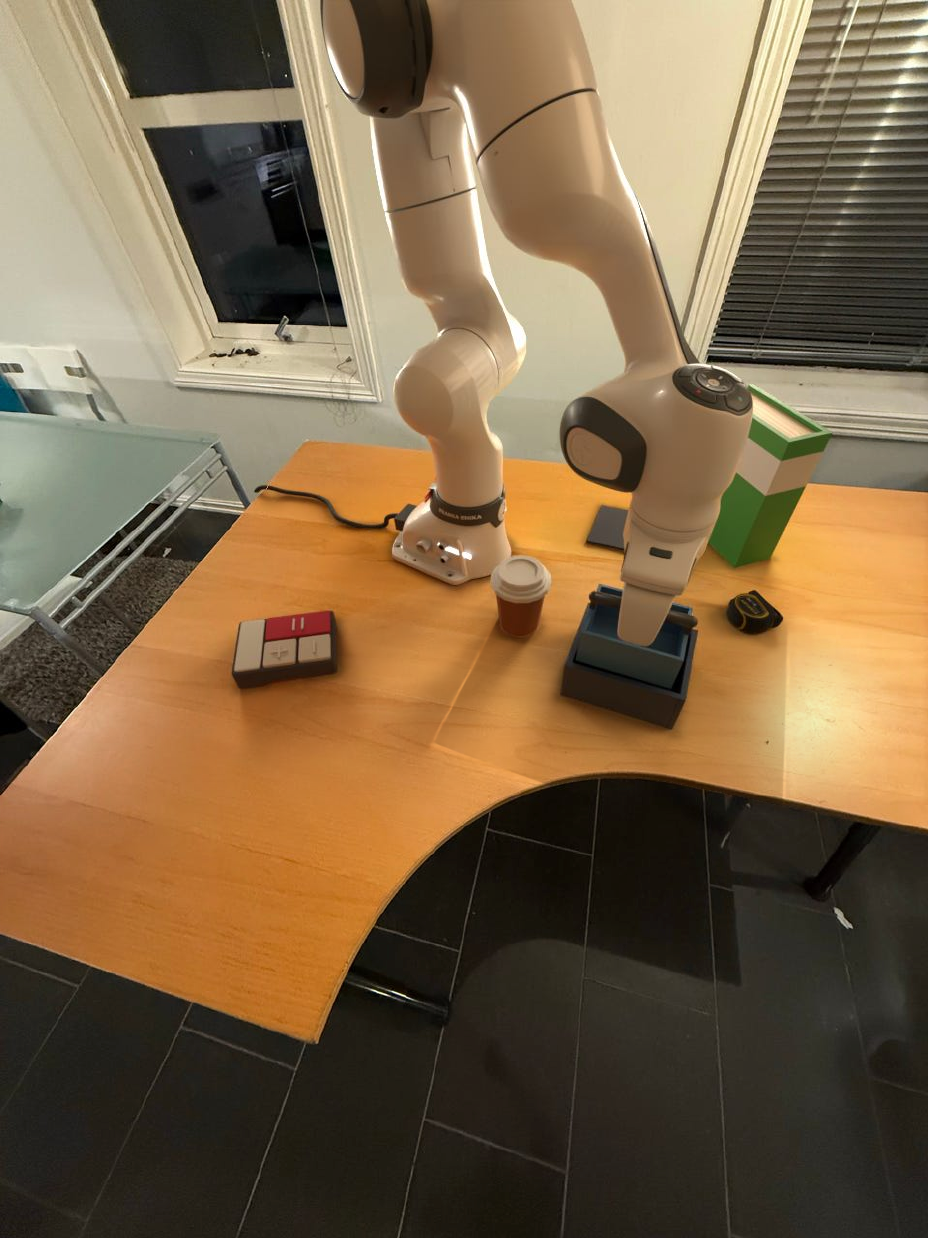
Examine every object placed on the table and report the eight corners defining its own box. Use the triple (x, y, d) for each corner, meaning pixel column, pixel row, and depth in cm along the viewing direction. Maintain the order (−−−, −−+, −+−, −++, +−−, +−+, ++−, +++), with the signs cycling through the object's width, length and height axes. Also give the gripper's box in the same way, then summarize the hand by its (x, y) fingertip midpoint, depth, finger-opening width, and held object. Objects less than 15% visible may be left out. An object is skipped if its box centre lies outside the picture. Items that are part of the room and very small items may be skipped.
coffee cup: (497, 649, 82) (497, 595, 74) (486, 608, 89) (484, 554, 80) (553, 640, 83) (560, 586, 74) (538, 600, 89) (543, 545, 80)
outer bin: (559, 697, 76) (564, 665, 70) (582, 635, 84) (588, 602, 78) (671, 732, 71) (685, 700, 66) (684, 663, 79) (698, 630, 73)
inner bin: (571, 659, 72) (580, 616, 65) (589, 611, 77) (598, 567, 71) (674, 690, 68) (694, 647, 61) (684, 637, 74) (704, 593, 67)
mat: (586, 542, 99) (586, 540, 98) (601, 507, 106) (601, 504, 106) (674, 562, 94) (675, 559, 94) (683, 523, 101) (684, 520, 101)
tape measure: (779, 631, 82) (789, 615, 79) (741, 642, 81) (750, 626, 78) (750, 602, 87) (758, 585, 84) (714, 612, 85) (721, 596, 83)
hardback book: (678, 511, 104) (714, 391, 86) (711, 504, 105) (753, 383, 87) (733, 568, 92) (788, 442, 74) (770, 558, 93) (832, 432, 76)
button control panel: (333, 658, 78) (229, 672, 76) (338, 675, 81) (238, 689, 80) (332, 606, 86) (237, 618, 84) (337, 624, 89) (245, 636, 87)
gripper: (654, 472, 64) (631, 557, 74) (618, 580, 52) (596, 664, 62) (708, 482, 62) (677, 568, 73) (684, 597, 50) (651, 681, 60)
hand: (639, 613), depth 67 cm, fingers closed on inner bin
